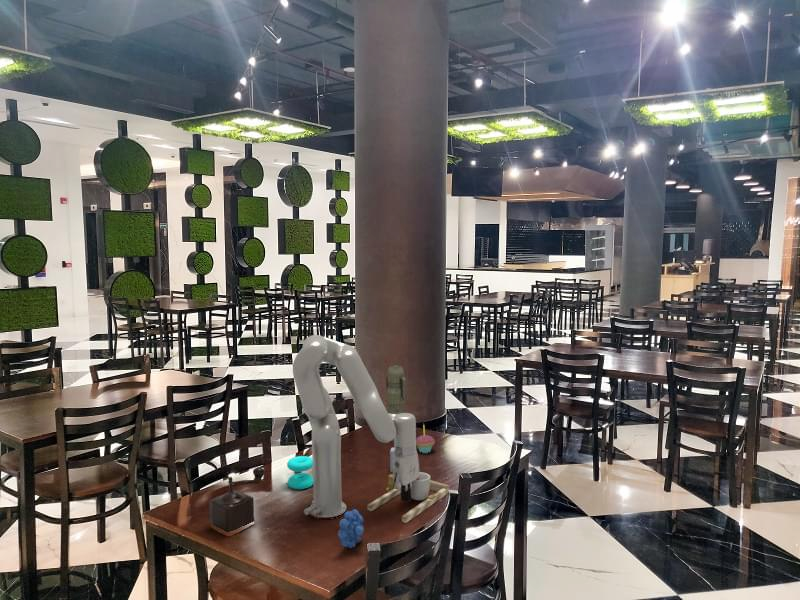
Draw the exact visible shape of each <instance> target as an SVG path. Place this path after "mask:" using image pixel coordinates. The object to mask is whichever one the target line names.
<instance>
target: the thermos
mask: <svg viewBox="0 0 800 600" xmlns="http://www.w3.org/2000/svg"><path fill="white" fill-rule="evenodd" d="M385 386H386V403H387V404H386V405H387V412H388V413H389V414H400V413H406V412H405V410H406V409H405V408H406V407H405V405H406V399H407V398H406V397H407V379H406V377H405V372H404V368H403V366H402V365H400V364H391V365H389V367H388V370H387V374H386V375H385ZM391 443H394V439H393V440H392V442H391Z"/></svg>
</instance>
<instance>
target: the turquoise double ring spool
mask: <svg viewBox="0 0 800 600" xmlns="http://www.w3.org/2000/svg"><path fill="white" fill-rule="evenodd" d="M286 466H287V467H286V468H288V470H290V471H291V472H297V473H296V474H292V475H291V476H290V477H289V478H288V479H287V486H288V487H289V488H291V489H294V490H305V488H306V489H308V488H310V487H312V486H313V474H310V473H306V472H307V471H309V470H310V469H313V458H312V457H310V456H306V455H299V456H294V457H292V458H290V459H289V460H288V461H287V463H286Z"/></svg>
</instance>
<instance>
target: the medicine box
mask: <svg viewBox="0 0 800 600" xmlns="http://www.w3.org/2000/svg"><path fill="white" fill-rule="evenodd" d="M389 455H390V456H389V461H390V463H389V464H390V465H389V466H390V473H393V463H394V455H395V451H394V447H391V448H390V452H389Z"/></svg>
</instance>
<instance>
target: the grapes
mask: <svg viewBox="0 0 800 600" xmlns="http://www.w3.org/2000/svg"><path fill="white" fill-rule="evenodd" d="M343 515H344V516H343V517H344V518H342V519H340V521H339V523H338V524H339V527H340V529H339V530H338V533H337V535H338V536H337V537H338V538H339V539H340V544H341V546H342V547H344V548H346V547H347V548H348V547H349V549H353V548H355V546H356V545H357V544H358V543H360V542H361V540H362V537H361V536H362V535H363V534H364V531H365V529H364V528H365V527H364V525H363V524H362V523H364V518H363V516H362V515H361V514H360V512H359V511H358V509H352V510H346V512H345V513H344V514H343ZM352 547H353V548H352Z"/></svg>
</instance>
